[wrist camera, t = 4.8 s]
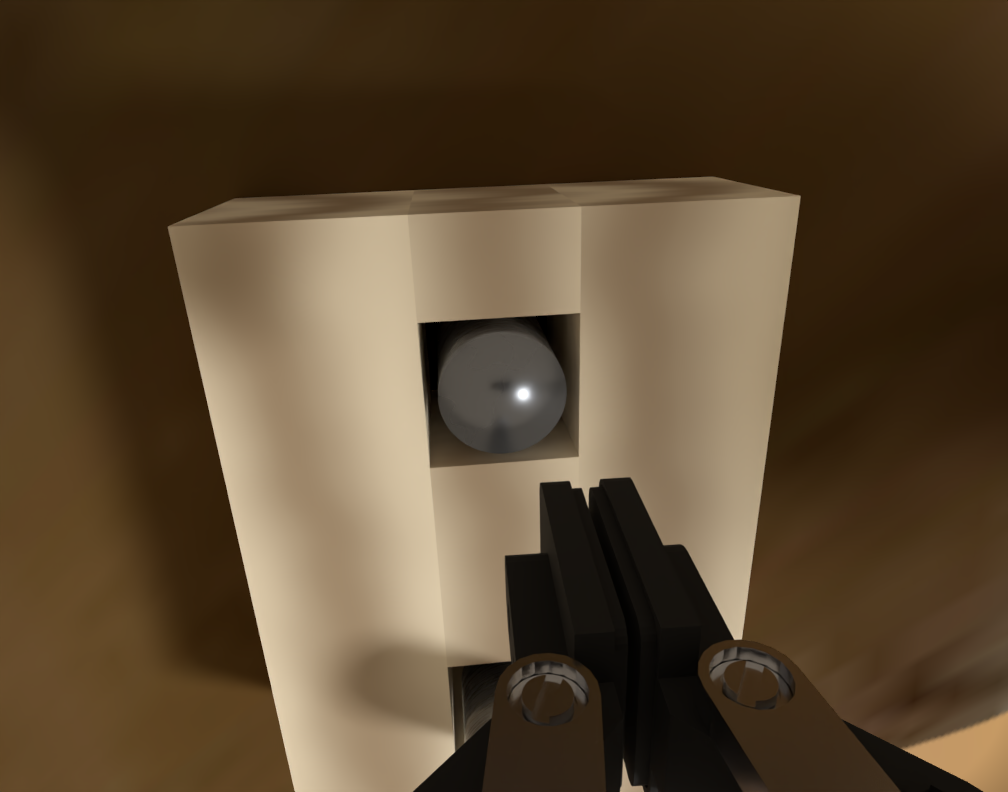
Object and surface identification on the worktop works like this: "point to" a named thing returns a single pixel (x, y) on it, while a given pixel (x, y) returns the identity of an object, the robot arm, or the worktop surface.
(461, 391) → the peg
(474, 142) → the worktop surface
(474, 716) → the peg
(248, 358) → the maple block
